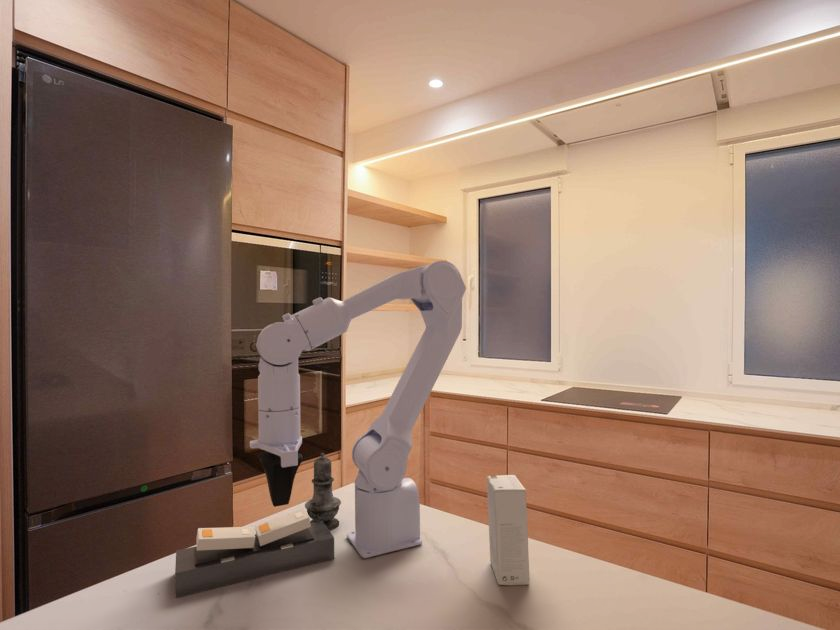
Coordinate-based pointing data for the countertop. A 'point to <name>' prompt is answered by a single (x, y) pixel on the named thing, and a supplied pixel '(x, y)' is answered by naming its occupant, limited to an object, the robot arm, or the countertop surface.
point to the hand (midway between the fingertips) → (280, 503)
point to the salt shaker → (323, 495)
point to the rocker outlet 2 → (282, 526)
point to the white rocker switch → (225, 538)
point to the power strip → (251, 560)
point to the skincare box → (508, 529)
